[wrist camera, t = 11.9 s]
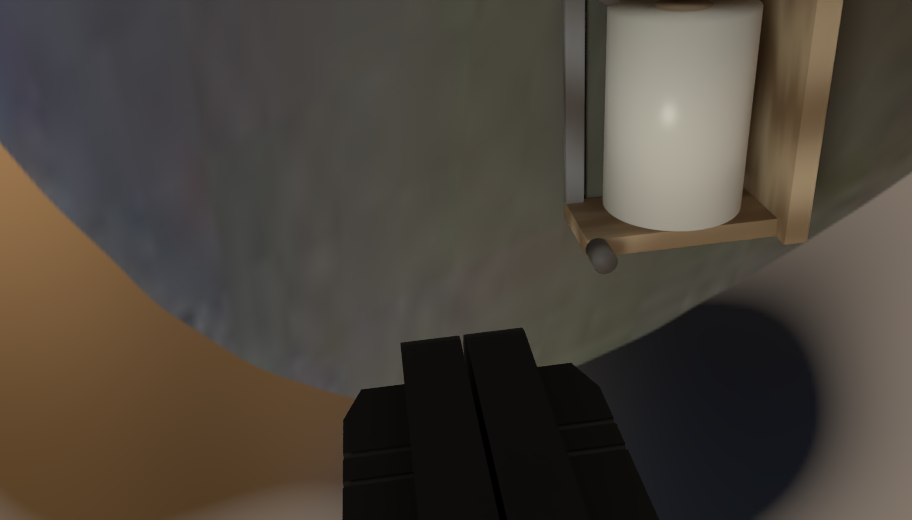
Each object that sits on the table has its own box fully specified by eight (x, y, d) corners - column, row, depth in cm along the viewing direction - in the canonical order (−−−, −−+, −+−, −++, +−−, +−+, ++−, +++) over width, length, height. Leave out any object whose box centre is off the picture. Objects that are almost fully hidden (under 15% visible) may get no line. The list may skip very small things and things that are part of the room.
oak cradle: (560, -45, 40) (597, -23, 34) (785, -66, 41) (858, -48, 35) (563, 219, 46) (593, 275, 41) (755, 197, 47) (812, 249, 41)
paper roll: (786, -6, 38) (650, -16, 42) (725, 26, 34) (579, 12, 38) (762, 193, 43) (641, 168, 47) (705, 245, 39) (577, 212, 43)
